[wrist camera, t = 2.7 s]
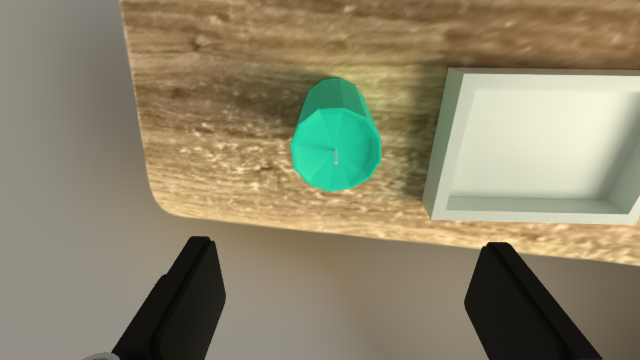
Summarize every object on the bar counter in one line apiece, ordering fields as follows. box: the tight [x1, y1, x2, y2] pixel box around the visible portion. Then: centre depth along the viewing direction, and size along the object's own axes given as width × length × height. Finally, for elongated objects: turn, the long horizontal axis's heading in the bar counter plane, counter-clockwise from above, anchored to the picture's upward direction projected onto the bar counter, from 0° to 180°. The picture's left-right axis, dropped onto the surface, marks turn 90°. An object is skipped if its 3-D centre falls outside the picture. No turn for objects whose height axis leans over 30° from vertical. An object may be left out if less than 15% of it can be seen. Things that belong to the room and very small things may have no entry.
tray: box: [422, 67, 640, 225], centre depth 28 cm, size 14×20×4 cm
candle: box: [291, 78, 381, 191], centre depth 23 cm, size 6×6×12 cm
